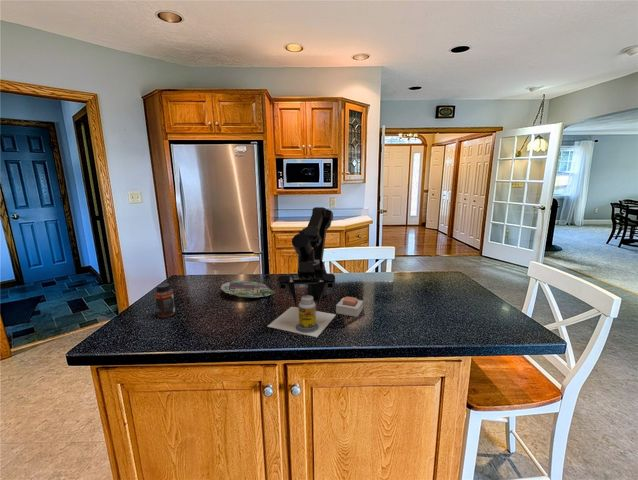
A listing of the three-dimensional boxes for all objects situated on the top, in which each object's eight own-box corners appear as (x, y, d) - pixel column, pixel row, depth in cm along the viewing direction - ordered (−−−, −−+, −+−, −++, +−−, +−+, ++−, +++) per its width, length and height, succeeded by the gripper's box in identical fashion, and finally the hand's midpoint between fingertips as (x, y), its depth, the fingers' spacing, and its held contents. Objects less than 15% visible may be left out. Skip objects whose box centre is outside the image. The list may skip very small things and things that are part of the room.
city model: (286, 300, 127) (287, 286, 126) (231, 307, 114) (232, 291, 113) (261, 285, 147) (262, 272, 147) (212, 289, 134) (213, 275, 133)
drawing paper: (267, 326, 100) (267, 325, 100) (291, 307, 115) (291, 306, 115) (317, 337, 93) (317, 336, 93) (335, 315, 108) (335, 314, 108)
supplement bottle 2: (296, 329, 97) (295, 299, 95) (302, 321, 102) (302, 293, 100) (312, 331, 96) (312, 301, 94) (317, 323, 101) (317, 295, 99)
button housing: (336, 313, 110) (336, 305, 109) (343, 304, 117) (343, 297, 116) (357, 316, 107) (357, 309, 106) (363, 308, 114) (363, 300, 113)
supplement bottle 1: (179, 312, 110) (176, 283, 108) (166, 319, 105) (162, 288, 103) (166, 310, 112) (163, 281, 110) (153, 317, 107) (149, 286, 105)
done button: (342, 306, 110) (342, 300, 110) (346, 302, 114) (346, 296, 114) (353, 308, 109) (353, 302, 108) (357, 304, 112) (357, 298, 112)
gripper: (277, 251, 97) (275, 296, 89) (334, 250, 98) (338, 294, 90) (280, 267, 107) (278, 309, 98) (332, 266, 108) (335, 308, 99)
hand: (307, 305), depth 96 cm, fingers open, 7 cm apart
